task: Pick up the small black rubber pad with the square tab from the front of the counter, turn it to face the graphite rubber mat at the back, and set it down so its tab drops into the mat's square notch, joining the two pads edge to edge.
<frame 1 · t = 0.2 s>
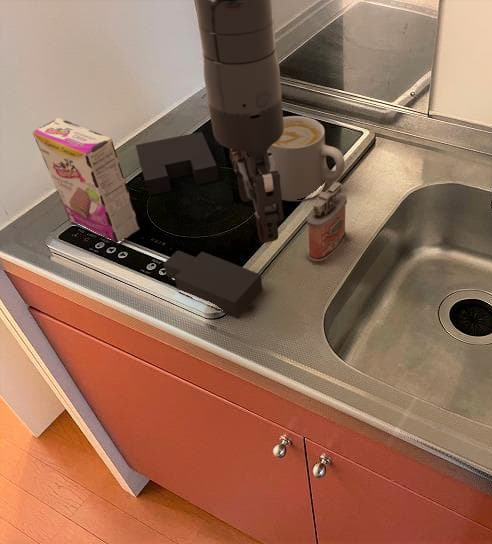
hand: (258, 218, 69), 13 cm above the table, tool pointing down, fingers open, 8 cm apart
tab pad: (220, 291, 79), on the table
lighter: (327, 248, 85), on the table
notch mat: (178, 169, 101), on the table
coffee mug: (304, 188, 97), on the table
candy bar box: (105, 227, 90), on the table
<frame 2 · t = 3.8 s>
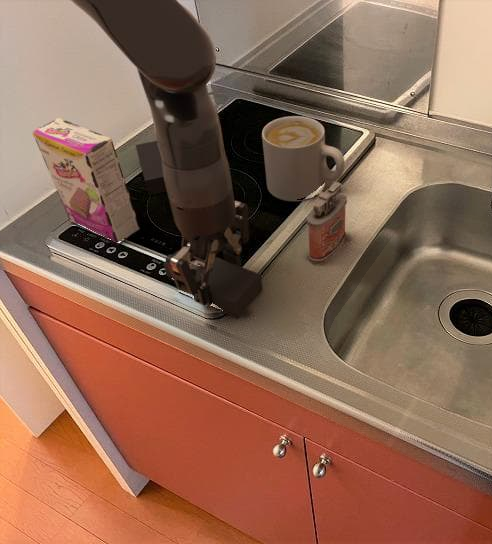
hand: (219, 287, 78), 1 cm above the table, tool pointing down, fingers closed on tab pad, 6 cm apart
tab pad: (220, 291, 79), on the table, touching gripper
everything else where it was.
when the fingers open (1 cm above the table, at t = 10.4 s): tab pad stays where it is, on the table.
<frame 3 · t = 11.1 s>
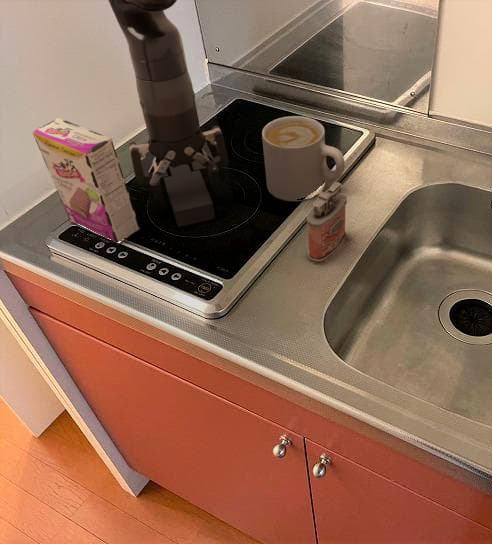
hand: (188, 194, 92), 2 cm above the table, tool pointing down, fingers open, 8 cm apart
tab pad: (190, 205, 93), on the table
everything else where it was.
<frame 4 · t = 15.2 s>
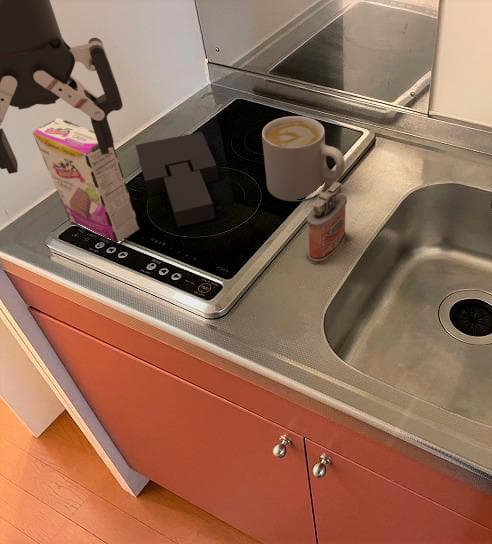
hand: (60, 159, 56), 26 cm above the table, tool pointing down, fingers open, 8 cm apart
nothing on the table moved.
at the end: tab pad 0.3 cm from the target spot on the table beside the notch mat, on the table; tab pad tilted 0°; the gripper is holding nothing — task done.
